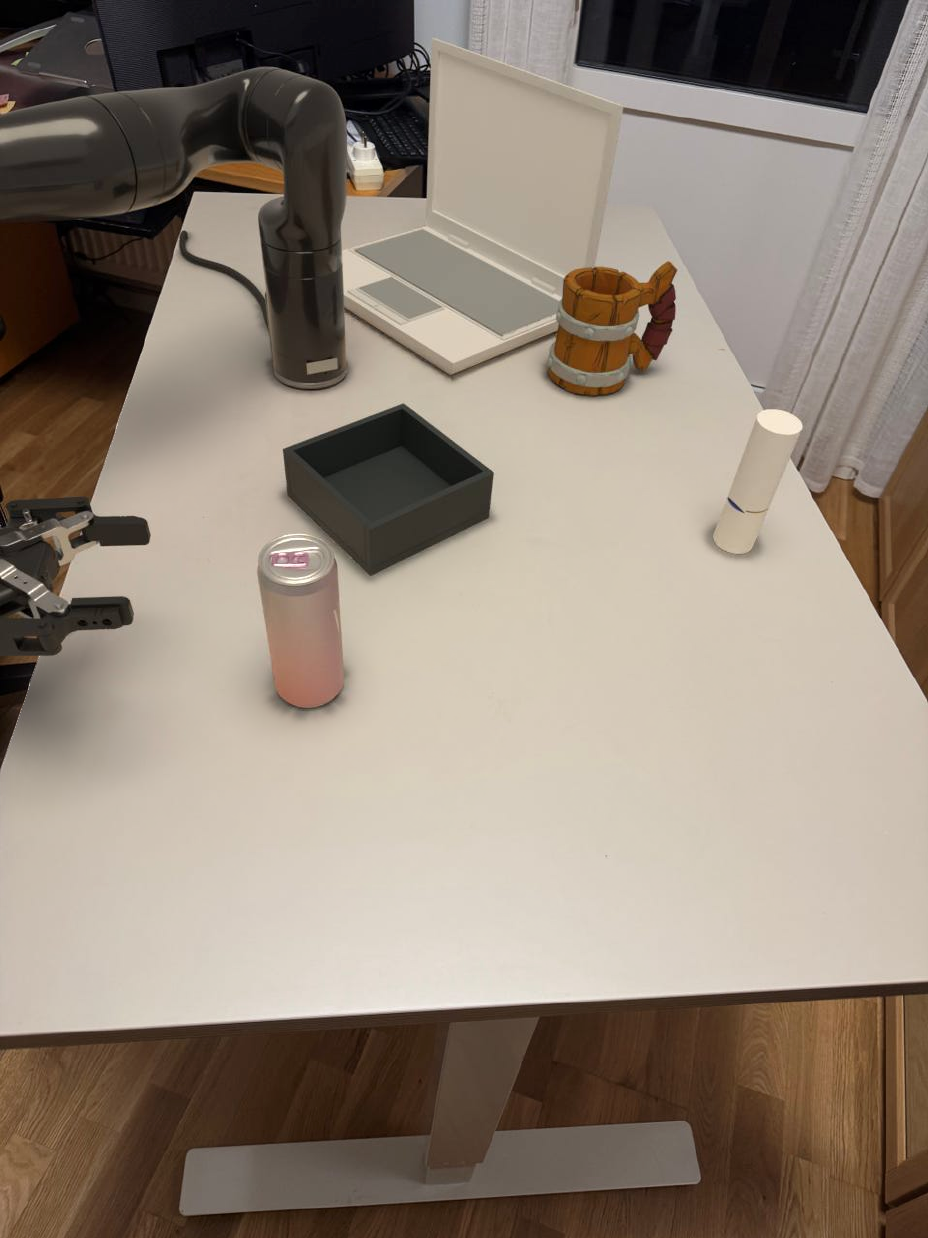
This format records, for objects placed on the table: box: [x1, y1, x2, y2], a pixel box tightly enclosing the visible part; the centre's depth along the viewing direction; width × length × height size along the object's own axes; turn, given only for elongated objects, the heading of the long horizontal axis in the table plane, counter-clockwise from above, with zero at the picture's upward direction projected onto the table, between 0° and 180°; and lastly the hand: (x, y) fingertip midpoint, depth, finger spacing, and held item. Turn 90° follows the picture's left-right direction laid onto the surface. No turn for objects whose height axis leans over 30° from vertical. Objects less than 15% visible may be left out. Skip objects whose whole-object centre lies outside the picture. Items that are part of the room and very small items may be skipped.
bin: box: [282, 403, 495, 576], centre depth 89 cm, size 16×16×6 cm
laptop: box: [342, 37, 625, 376], centre depth 114 cm, size 35×26×28 cm
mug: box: [546, 261, 678, 397], centre depth 108 cm, size 11×16×15 cm, turn 102°
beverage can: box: [256, 532, 345, 709], centre depth 68 cm, size 6×6×15 cm
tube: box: [712, 408, 803, 555], centre depth 85 cm, size 4×4×15 cm
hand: (140, 568), depth 61 cm, fingers open, 8 cm apart
